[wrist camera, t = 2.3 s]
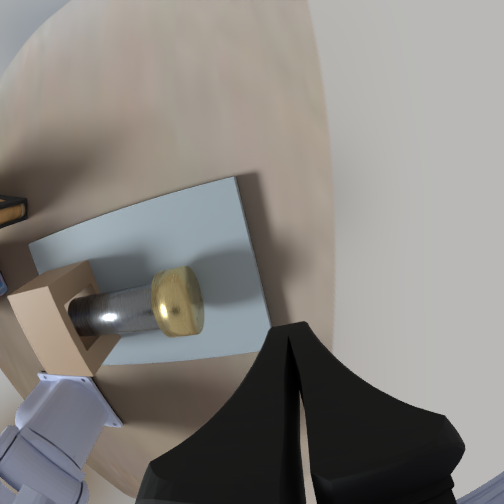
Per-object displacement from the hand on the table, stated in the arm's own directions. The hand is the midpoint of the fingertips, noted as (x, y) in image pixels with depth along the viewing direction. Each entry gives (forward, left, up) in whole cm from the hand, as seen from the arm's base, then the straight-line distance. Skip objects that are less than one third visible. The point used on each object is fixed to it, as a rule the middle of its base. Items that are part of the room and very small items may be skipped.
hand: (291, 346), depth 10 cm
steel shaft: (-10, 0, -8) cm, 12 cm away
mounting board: (-11, 0, -9) cm, 14 cm away
